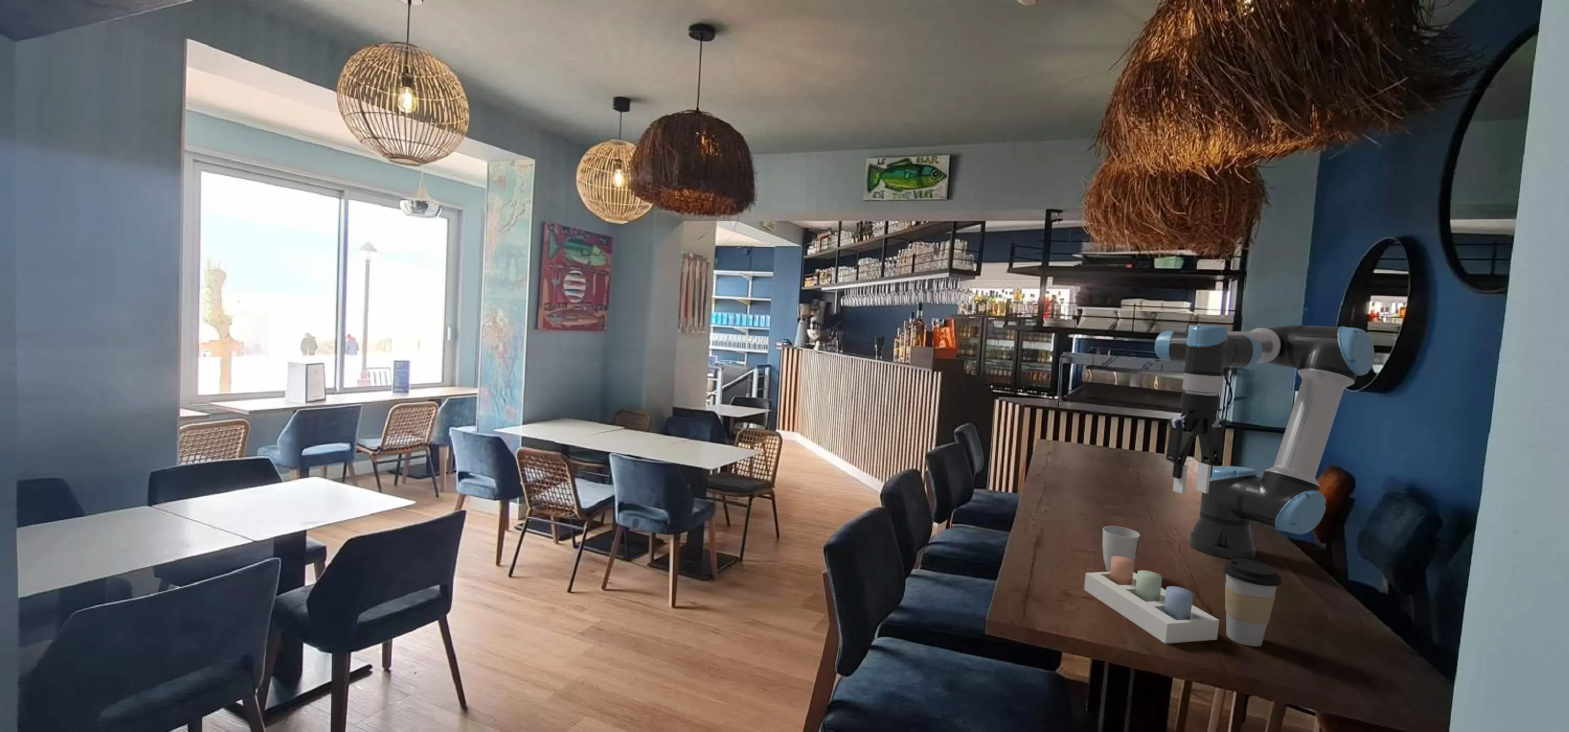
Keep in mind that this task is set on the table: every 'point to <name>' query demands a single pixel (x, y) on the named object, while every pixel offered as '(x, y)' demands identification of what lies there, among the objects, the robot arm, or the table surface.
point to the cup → (1119, 543)
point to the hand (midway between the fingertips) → (1190, 491)
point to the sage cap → (1148, 586)
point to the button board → (1151, 611)
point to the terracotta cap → (1121, 570)
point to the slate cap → (1178, 603)
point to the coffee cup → (1249, 599)
